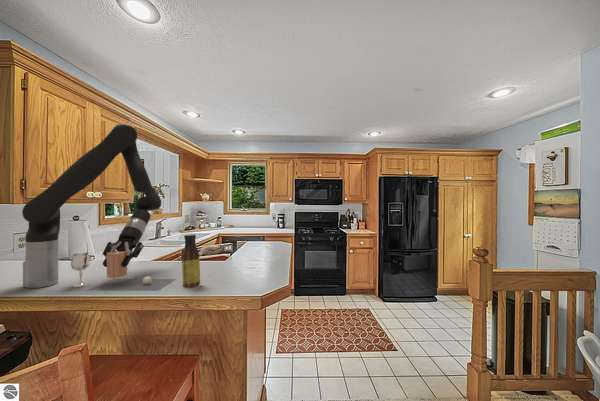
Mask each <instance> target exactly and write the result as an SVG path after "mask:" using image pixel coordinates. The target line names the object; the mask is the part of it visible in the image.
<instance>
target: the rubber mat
mask: <svg viewBox="0 0 600 401" xmlns="http://www.w3.org/2000/svg"><path fill="white" fill-rule="evenodd" d="M143 279H144V278H111V279H109V280H108V281H105V282H102V283H100V284H98V285H96V286H93V287H90V288H89V289H87V291H119V292H120V291H121V292H122V291H126V292H127V291H130V292H132V291H134V292H137V291H139V292H142V291H144V292H145V291H146V292H150V291H151V292H157V291H158V292H159V291H160V290H162V289H163V288H165V287H167V286H169V284H171V283H173V282H175V281H176V280H177V279H176V278H151V279H152V281H151V283H150V284H147V285H146V284H144V283H143Z"/></svg>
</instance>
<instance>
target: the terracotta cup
mask: <svg viewBox="0 0 600 401" xmlns="http://www.w3.org/2000/svg"><path fill="white" fill-rule="evenodd" d="M126 254H127V251H117V250H115V251H112V252H108V253H107V267H106V278H108V279H117V278H122V277H125V276H127V275H128V265H127V266H126V267H122V265H121V263H122V261H123V260H124V258H125V256H127V255H126Z"/></svg>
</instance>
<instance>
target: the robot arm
mask: <svg viewBox="0 0 600 401" xmlns="http://www.w3.org/2000/svg"><path fill="white" fill-rule="evenodd" d="M137 140H138V132H137V130H136V128H135V127H134V126H132V125H131V124H127V123H118V124H116V125H115V126H114V127H113V128H112V129H111V131H110V132H109V133H108V134H107V135H106V136H105V137H104V138H103V139H102V141H100V143H98V144H97V145H96V146H94V147H93V148H91V149H90V150H88V151H87V152H85V153H84V154H83V155H82V156H81V157H79V158H78V159H77V160H75V162H73V163H72V164H71V165H70V166H69V167H68V168H67V169H66V170H65V171H63V173H61V174H60V176H59V177H58V178H57V179H56V180H55V181H54V182H53V183H51V185H50V186H48V187H47V188H46V189H45V190H43V191H42V192H41V193H39V194H38V195H37V196H35V197H34V198H32V199H31V200H29V201H28V202H27V203H26V204H25V205H24V206H23V208H22V211H21V213H22V214H21V215H22V216H23V219H24V220H25V221H27V222H28V229H27V232H26V234H25V238H24V239H25V241H24V242H25V261H23V262H22V287H23V288H26V289H38V288H45V287H49V286H50V287H51V286H53V285H56V284H58V283H59V234H60V231H61V208H62V206H64V204H65V203H66V202H68V200H69V199H70V198H72V197H73V196H75V195H76V194H78V193H79V192H81V191H82V190H84V189H85V188H87V187H88V186H90V185H91V184H92V183H93V182H95V180H97V179H98V178H99V177H100V176H101V175H102V173H103V172H105V170H107V168H108V167H109V166H110V164H111V163H112V162H113V160H114V159H115V158H117V156H118V155H120V154H121V155H122V157H123V160H124V162H125V164H126V168H127V171H128V172H127V173H128V175H129V178H130V181H131V183H132V187H133V189H134V190H135V192H137V193H142V194H143V195H144V196H140V197H139V198H137V199H136V200H135V203H134V206H133V213H132V215H131V216H130V218H129V220H128V221H127V222H126V224H125V225H124V227H123V229H122V230H121V232H120V233H119V235H118V240H117V241H115V242H112V241H108V242H107V243H106V246H105V248H104V250H103V251H102V255H103V256H104V260H103V261H102V265H103V267H105V268H107V253H108V252H112V251H127V254H126V255H127V256H125V258H124V260H123V261H122V263H121V265H122V267H126V266H127V267H128V265H129V264H130V261H131V260H133V258H135V259H137V258H138V257H139V255H140V254H141V252H142V250H143V248H144V247H145V246H144V244H143V243H142V241H141V238H142V236H143V235H144V233H145V230H146V227H147V226H148V224H149V221H150V220H151V213H150V212H149V211H156V210H159V209H160V208H161V206H162V199H161V197H160V195H159V194H158V193H157V191H156V189H155V188H154V187H153V186H152V183H151V180H150V177H149V175H148V172H147V169H146V168H145V165H144V163H143V161H142V160H141V159H142V158H141V157H140V154H139V151H138V146H137Z"/></svg>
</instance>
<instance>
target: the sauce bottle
mask: <svg viewBox="0 0 600 401" xmlns="http://www.w3.org/2000/svg"><path fill="white" fill-rule="evenodd" d="M196 236H197V235H196V234H194V233H191V234H190V233H189V234H185V235H184V241H185V242H184V249H183V250H182V252H181V256H182V260H181V266H182V268H181V269H182V272H181V273H182V286H183V287H184V288H195V287H199V286H200V285H201V282H200V281H201V272H200V271H201V270H200V268H201V266H200V265H201V264H200V254H199V251H198V249H197V245H196V244H197V243H196V239H197V237H196Z"/></svg>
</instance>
